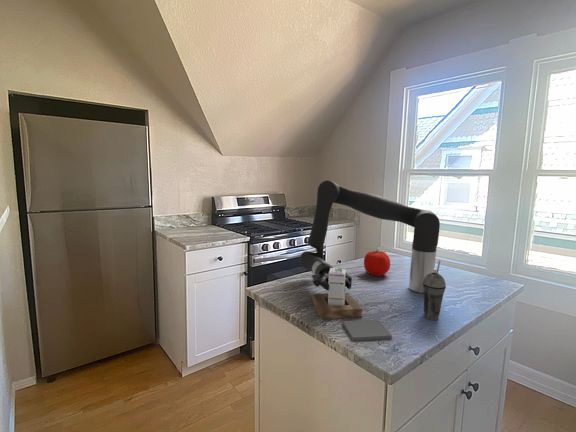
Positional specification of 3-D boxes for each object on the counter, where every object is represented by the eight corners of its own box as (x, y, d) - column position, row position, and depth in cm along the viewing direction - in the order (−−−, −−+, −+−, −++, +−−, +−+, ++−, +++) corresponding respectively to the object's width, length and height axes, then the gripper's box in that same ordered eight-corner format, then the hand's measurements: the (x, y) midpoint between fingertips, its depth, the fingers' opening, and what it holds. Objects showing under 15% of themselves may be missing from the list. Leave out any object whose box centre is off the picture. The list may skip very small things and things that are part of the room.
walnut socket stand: (348, 300, 121) (349, 292, 121) (361, 317, 108) (362, 308, 107) (312, 301, 120) (312, 294, 119) (321, 319, 106) (321, 310, 105)
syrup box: (344, 313, 110) (346, 273, 108) (327, 311, 112) (328, 271, 109) (344, 306, 116) (346, 268, 114) (328, 304, 117) (329, 266, 115)
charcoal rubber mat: (377, 322, 104) (378, 319, 104) (391, 338, 95) (391, 335, 94) (342, 324, 103) (342, 321, 103) (352, 340, 93) (352, 337, 93)
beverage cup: (415, 312, 112) (420, 257, 109) (435, 312, 113) (440, 257, 110) (426, 322, 105) (431, 263, 102) (447, 321, 106) (453, 263, 103)
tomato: (382, 269, 159) (384, 247, 158) (394, 278, 146) (396, 254, 145) (359, 270, 158) (360, 247, 156) (369, 279, 145) (371, 255, 143)
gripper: (306, 263, 124) (319, 277, 108) (341, 261, 127) (358, 275, 111) (306, 282, 125) (319, 298, 109) (340, 279, 128) (357, 295, 112)
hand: (339, 287), depth 110 cm, fingers closed on syrup box, 7 cm apart
